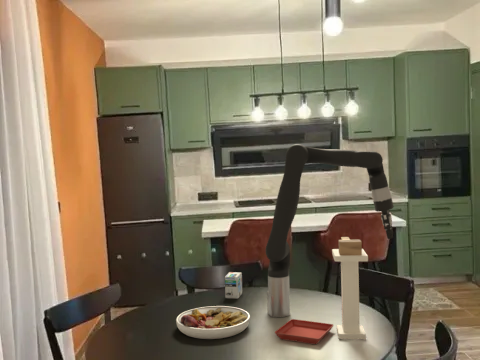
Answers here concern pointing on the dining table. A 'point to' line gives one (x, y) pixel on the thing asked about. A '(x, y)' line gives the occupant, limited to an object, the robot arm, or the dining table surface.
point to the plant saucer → (303, 331)
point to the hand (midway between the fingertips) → (390, 236)
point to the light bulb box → (233, 285)
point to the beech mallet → (350, 246)
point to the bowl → (213, 322)
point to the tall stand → (350, 295)
